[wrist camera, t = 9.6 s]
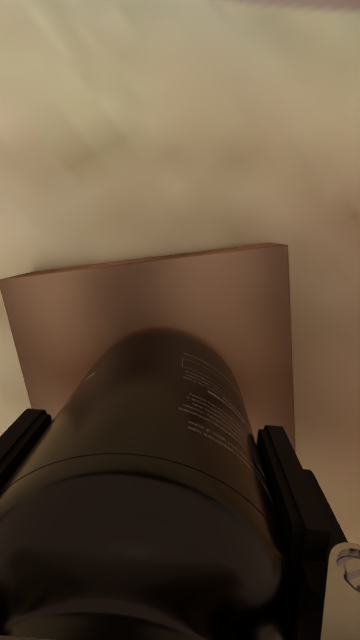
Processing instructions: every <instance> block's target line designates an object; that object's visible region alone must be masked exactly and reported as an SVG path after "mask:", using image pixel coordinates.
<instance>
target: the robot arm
mask: <svg viewBox="0 0 360 640" xmlns="http://www.w3.org/2000/svg"><path fill="white" fill-rule="evenodd" d="M51 422H52V417H51V415H50V414H47V412H46V410H43V409H26V410H25V411H24V412H23V413H22V414H21V415H20V416H19V417H18V419H17V420H16V421H15V422H14V423H13V424H12V425H11V426H10V427H9V428H8V429H7V430H6V431H5V432H4V433H3V434H2V435H1V436H0V490H1V489H2V488H3V486H4V485H5V484H6V482H7V481H8V480H9V478H10V477H11V476H12V474H13V473H14V471H15V470H16V469H17V467H18V466H19V465H20V463H21V462H22V461H23V459H24V458H25V457H26V455H27V454H28V453H29V451H30V450H31V449H32V447H33V446H34V444H35V443H36V442H37V440H38V439H39V438H40V436H41V435H42V434H43V432H44V431H45V430H46V428H47V427H48V426H49V424H50V423H51ZM256 446H257V449H258V452H259V456H260V459H261V463H262V466H263V470H264V473H265V477H266V480H267V483H268V487H269V490H270V494H271V497H272V501H273V504H274V508H275V511H276V515H277V518H278V521H279V525H280V528H281V532H282V535H283V539H284V542H285V546H286V549H287V553H288V556H289V560H290V564H291V568H292V573H293V577H294V581H295V586H296V591H297V597H298V612H299V623H298V634H297V640H360V545H359V544H355V543H348V541H347V539H346V537H345V535H344V533H343V531H342V529H341V527H340V525H339V523H338V521H337V519H336V517H335V515H334V513H333V511H332V509H331V507H330V505H329V503H328V502H327V500H326V498H325V496H324V494H323V492H322V490H321V488H320V486H319V484H318V482H317V480H316V478H315V476H314V474H313V472H312V471H311V470H307V469H303V468H302V466H301V464H300V462H299V460H298V458H297V455H296V453H295V451H294V449H293V447H292V445H291V443H290V441H289V438H288V436H287V434H286V432H285V430H284V428H283V426H273V425H265V426H264V429H259V430H258V435H257V443H256ZM0 640H50V639H38V638H26V637H14V636H1V635H0Z"/></svg>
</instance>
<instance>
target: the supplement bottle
mask: <svg viewBox="0 0 360 640" xmlns="http://www.w3.org/2000/svg"><path fill="white" fill-rule="evenodd" d="M298 623H299V612H298V597H297V591H296V586H295V581H294V577H293V573H292V568H291V564H290V560H289V556H288V553H287V549H286V546H285V542H284V539H283V535H282V532H281V528H280V525H279V521H278V518H277V515H276V511H275V508H274V504H273V501H272V497H271V494H270V490H269V487H268V483H267V480H266V477H265V473H264V470H263V466H262V463H261V459H260V456H259V452H258V449H257V446H256V442H255V439H254V435H253V432H252V428H251V425H250V421H249V418H248V414H247V411H246V408H245V404H244V401H243V398H242V395H241V392H240V388H239V385H238V383H237V381H236V378H235V376H234V374H233V373H232V371H231V369H230V368H229V366H228V365H227V364H226V362H225V361H224V360H223V359H222V358H221V357H220V356H219V355H218V354H217V353H216V352H215V351H213V350H212V349H211V348H210V347H208V346H206V345H205V344H203V343H202V342H200V341H197V340H195V339H193V338H191V337H188V336H185V335H181V334H177V333H171V332H150V333H144V334H139V335H135V336H132V337H129V338H127V339H125V340H123V341H121V342H119V343H117V344H116V345H114V346H113V347H111V348H110V349H109V350H107V351H106V352H105V353H104V354H103V355H102V356H101V357H100V358H99V359H98V360H97V362H96V363H95V364H94V365H93V367H92V368H91V369H90V370H89V372H88V373H87V374H86V376H85V377H84V378H83V380H82V381H81V382H80V384H79V385H78V386H77V388H76V389H75V390H74V392H73V393H72V394H71V396H70V397H69V399H68V400H67V401H66V403H65V404H64V405H63V407H62V408H61V409H60V411H59V412H58V413H57V415H56V416H55V417H54V419H53V420H52V422H51V423H50V424H49V426H48V427H47V428H46V430H45V431H44V432H43V434H42V435H41V436H40V438H39V439H38V440H37V442H36V443H35V444H34V446H33V447H32V449H31V450H30V451H29V453H28V454H27V455H26V457H25V458H24V459H23V461H22V462H21V463H20V465H19V466H18V467H17V469H16V470H15V471H14V473H13V474H12V476H11V477H10V478H9V480H8V481H7V482H6V484H5V485H4V486H3V488H2V489H1V490H0V635H1V636H14V637H26V638H38V639H50V640H297V634H298Z"/></svg>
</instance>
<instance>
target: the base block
mask: <svg viewBox="0 0 360 640" xmlns="http://www.w3.org/2000/svg"><path fill="white" fill-rule="evenodd" d="M0 289H1V293H2V297H3V301H4V305H5V308H6V312H7V316H8V320H9V324H10V327H11V331H12V335H13V339H14V343H15V346H16V350H17V354H18V358H19V362H20V366H21V369H22V373H23V377H24V381H25V385H26V388H27V392H28V396H29V400H30V404H31V408H32V409H43V410H46V412H47V414H50V415H51V417H52V420H53V419H54V417H55V416H56V415H57V413H58V412H59V411H60V409H61V408H62V407H63V405H64V404H65V403H66V401H67V400H68V399H69V397H70V396H71V394H72V393H73V392H74V390H75V389H76V388H77V386H78V385H79V384H80V382H81V381H82V380H83V378H84V377H85V376H86V374H87V373H88V372H89V370H90V369H91V368H92V367H93V365H94V364H95V363H96V362H97V360H98V359H99V358H100V357H101V356H102V355H103V354H104V353H105V352H106V351H107V350H109V349H110V348H111V347H113V346H114V345H116V344H117V343H119V342H121V341H123V340H125V339H127V338H129V337H132V336H135V335H139V334H144V333H150V332H171V333H177V334H181V335H185V336H188V337H191V338H193V339H195V340H197V341H200V342H202V343H203V344H205V345H206V346H208V347H210V348H211V349H212V350H213V351H215V352H216V353H217V354H218V355H219V356H220V357H221V358H222V359H223V360H224V361H225V362H226V364H227V365H228V366H229V368H230V369H231V371H232V373H233V374H234V376H235V378H236V381H237V383H238V385H239V388H240V392H241V395H242V398H243V401H244V404H245V408H246V411H247V414H248V418H249V421H250V425H251V428H252V432H253V435H254V439H255V442H256V443H257V435H258V430H259V429H264V426H265V425H273V426H283V428H284V430H285V432H286V434H287V436H288V438H289V441H290V443H291V445H292V447H293V449H294V451H295V425H294V397H293V370H292V342H291V315H290V287H289V260H288V245H283V244H274V243H266V244H258V245H250V246H242V247H233V248H225V249H217V250H209V251H201V252H192V253H184V254H176V255H168V256H159V257H151V258H143V259H135V260H126V261H118V262H110V263H102V264H93V265H85V266H77V267H69V268H60V269H52V270H44V271H36V272H30V273H25V274H21V275H17V276H13V277H9V278H4V279H0Z"/></svg>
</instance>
